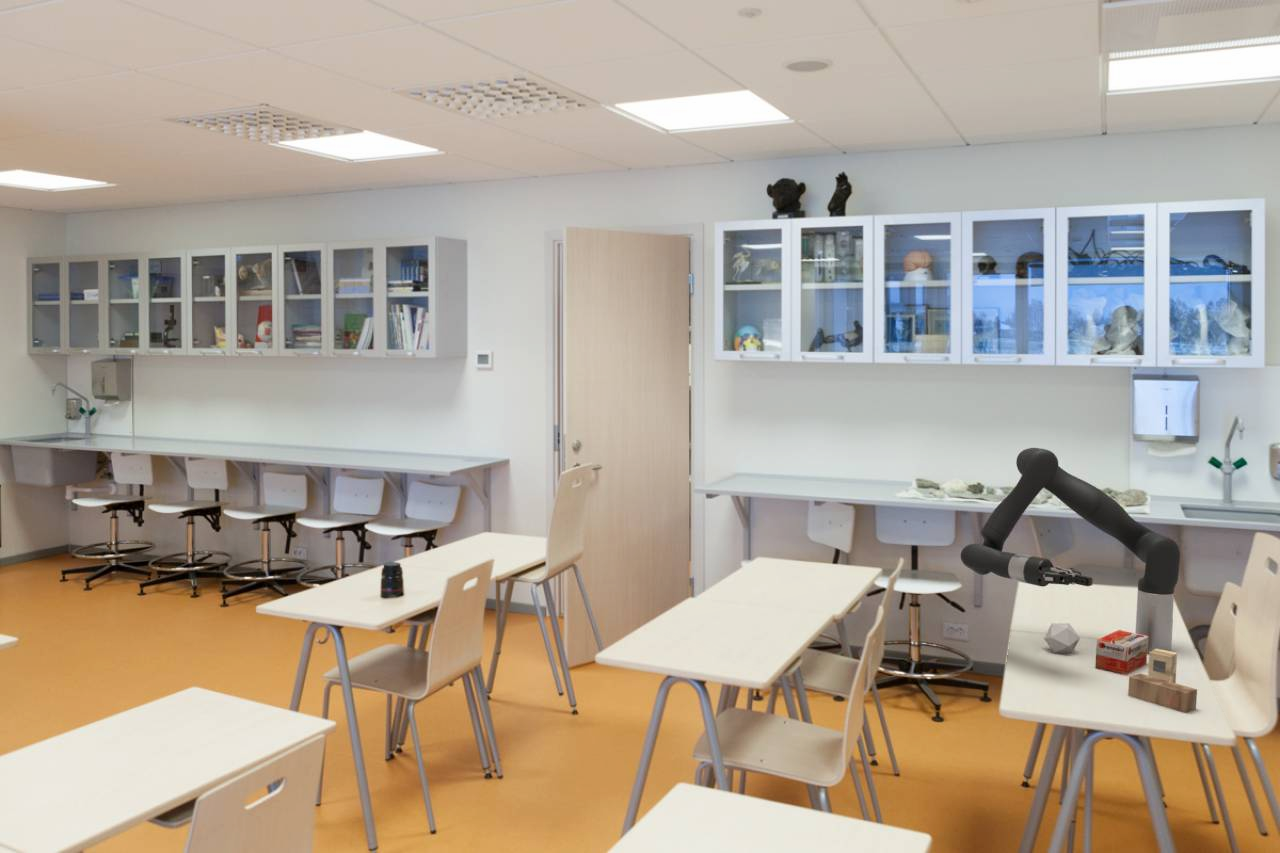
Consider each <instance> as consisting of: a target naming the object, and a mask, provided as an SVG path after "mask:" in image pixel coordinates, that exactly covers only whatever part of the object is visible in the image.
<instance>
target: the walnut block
mask: <svg viewBox="0 0 1280 853" xmlns="http://www.w3.org/2000/svg"><path fill="white" fill-rule="evenodd" d="M1127 691H1128V693H1127V696H1128V697H1131V698H1133V699H1134V698H1135V699H1138V700H1142V701H1145V702H1148V703H1150V704H1151V703H1152V704H1154V705H1158V706H1161V707H1164V708H1168V709H1171V710H1174V711H1176V712H1177V711H1178V712H1180V713H1185V714H1186V713H1189V712H1191V711H1194V710H1196V709H1197V697H1198V689H1197V688H1194V687H1191V686H1187V685H1183V684H1179V683H1177V682H1176V683H1173V682H1169V681H1166V680H1162V679H1158V678H1155V677H1151V676H1148V674H1145V673H1144V674H1143V673H1137V674H1134V675H1131V676H1129V677H1128V690H1127Z"/></svg>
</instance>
